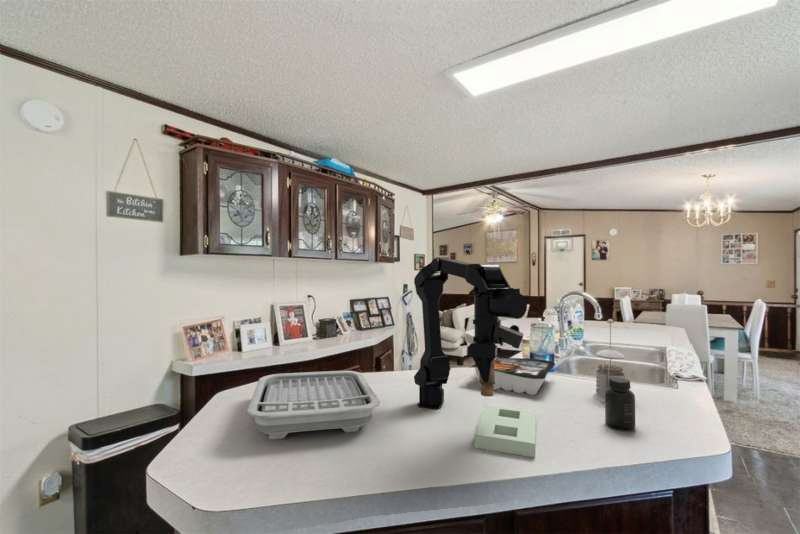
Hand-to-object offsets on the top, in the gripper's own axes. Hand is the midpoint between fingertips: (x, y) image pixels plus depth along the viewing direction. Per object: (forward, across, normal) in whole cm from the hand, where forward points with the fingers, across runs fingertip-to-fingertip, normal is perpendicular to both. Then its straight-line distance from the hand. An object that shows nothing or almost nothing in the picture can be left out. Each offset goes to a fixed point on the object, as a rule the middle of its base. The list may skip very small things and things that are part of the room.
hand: (487, 379), depth 92 cm
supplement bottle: (+14, +20, -31) cm, 39 cm away
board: (+14, +4, -4) cm, 15 cm away
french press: (+14, +42, -32) cm, 54 cm away
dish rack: (+13, -3, +47) cm, 49 cm away
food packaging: (+13, +47, -2) cm, 49 cm away
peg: (+4, 0, 0) cm, 4 cm away
